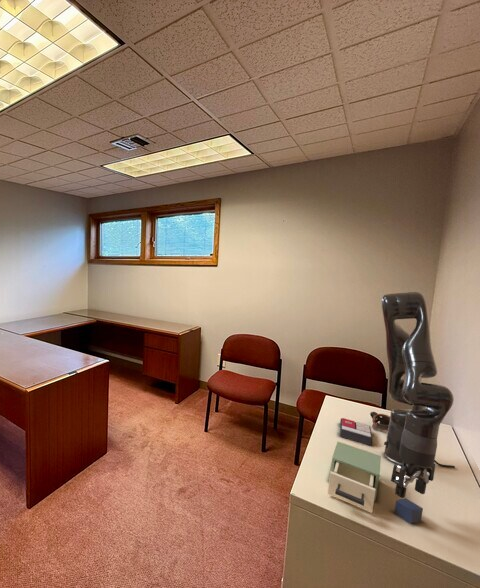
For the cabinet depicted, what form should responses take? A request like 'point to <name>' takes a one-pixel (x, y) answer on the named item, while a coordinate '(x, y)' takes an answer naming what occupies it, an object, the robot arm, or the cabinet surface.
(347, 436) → the red and grey box
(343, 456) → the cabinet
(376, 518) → the cabinet surface
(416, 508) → the block
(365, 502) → the drawer
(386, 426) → the pottery mug
